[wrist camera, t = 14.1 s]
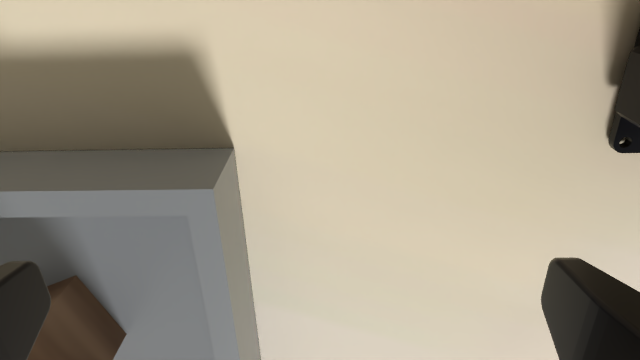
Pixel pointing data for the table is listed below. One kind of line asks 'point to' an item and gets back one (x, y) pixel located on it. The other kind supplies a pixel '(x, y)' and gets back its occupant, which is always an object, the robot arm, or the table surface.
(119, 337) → the brown tall block
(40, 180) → the box
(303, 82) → the table surface
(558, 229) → the table surface
